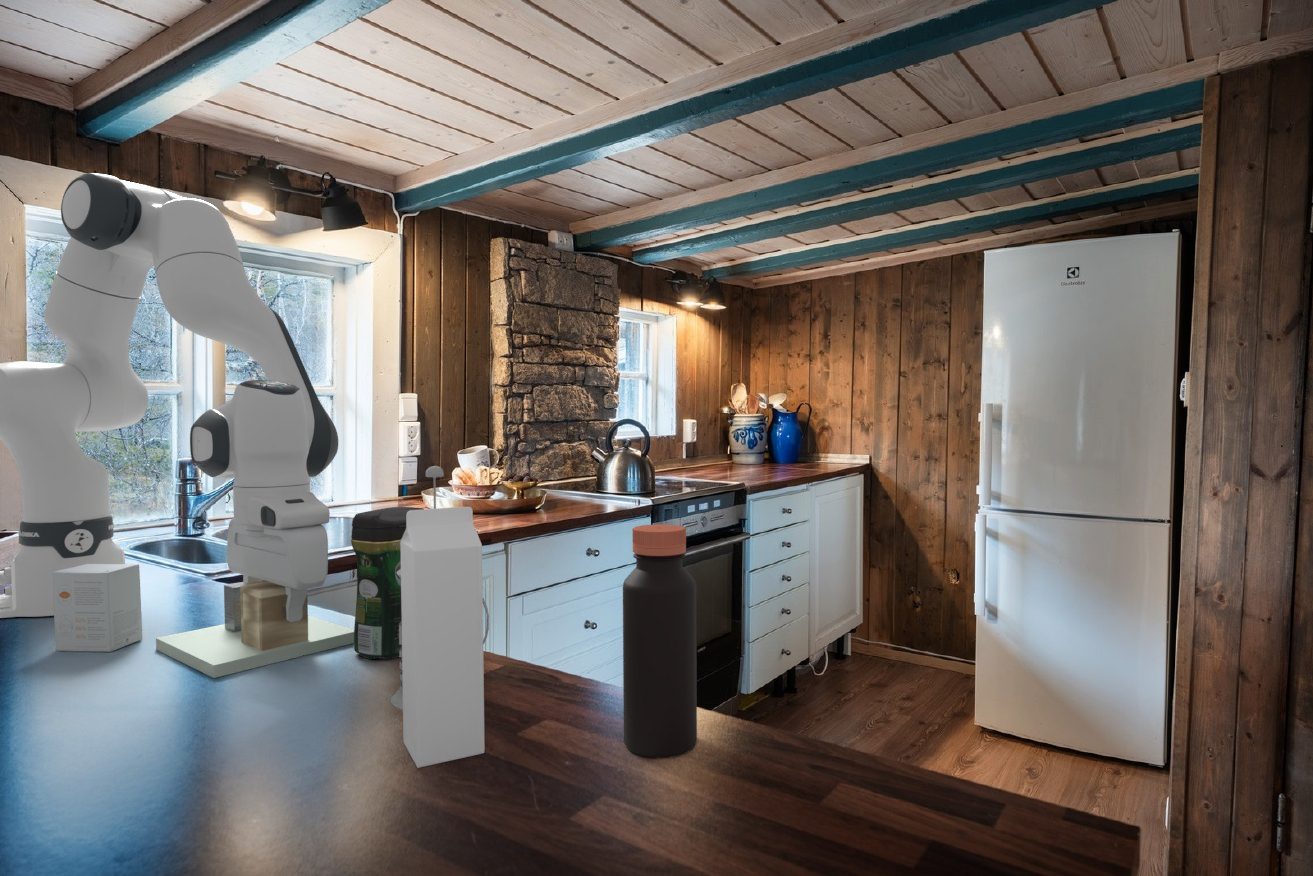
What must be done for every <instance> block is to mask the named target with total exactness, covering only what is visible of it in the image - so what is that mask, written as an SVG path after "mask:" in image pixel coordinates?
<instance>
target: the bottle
mask: <svg viewBox="0 0 1313 876" xmlns="http://www.w3.org/2000/svg"><path fill="white" fill-rule="evenodd" d="M686 551H687V528H686V527H685V526H683V525H682V526H681V525H677V524H675V525H674V524H661V523H656V524H655V523H654V524H644V525H643V524H642V525H637V526H635V527H633V528H632V552H633V553H634V554H633V558H634V559H636V560H635V562H636V565H635V566H636V567H635V568H633V570H632V571H631V572H630V573H629V574H628V575H627V576H626V578H625V579H624V581H623V584H622V643H623V644H622V654H623V655H622V663H623V664H622V666H623V669H622V671H623V673H622V674H623V675H622V677H623V681H622V683H623V684H622V685H623V687H622V688H623V694H622V695H623V696H622V697H623V742H624V744H625V745H624V746H626V749H628V750H629V751H631V752H632V753H634V754H635V755H639V756H641V757H647V758H654V759H657V758H658V759H663V758H665V759H667V758H668V759H669V758H674V757H675V758H676V757H678V756H682V755H684V754H686V753H688V752H690V751H692V749H694V747H695V746H696V744H697V743H698V742H697V741H698V733H697V732H698V718H697V717H698V714H697V710H698V709H697V706H698V705H697V704H698V703H697V702H698V699H697V698H698V697H697V696H698V695H697V691H698V690H697V688H698V686H697V685H698V683H697V681H698V679H697V678H698V677H697V666H698V665H697V663H698V662H697V661H698V660H697V659H698V658H697V657H698V656H697V584H696V580H695V578H693V577H692V575H691V574H690V573H689V572H688V571H687V570H686V569H685V568H684V567H683V559H685V558H686Z"/></svg>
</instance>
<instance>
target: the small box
mask: <svg viewBox="0 0 1313 876" xmlns="http://www.w3.org/2000/svg"><path fill="white" fill-rule="evenodd" d="M52 575H53V598H54V615H53V617H54V619H53V620H54V637H55V638H54V639H55V640H54V642H55V650H56V651H57V652H98V653H102V652H108V653H109V652H110V653H111V652H114V651H116V650H119V649H121V648H123V647H126V646H129V645H131V644H135V643H136V642H138V641H142V640H143V623H142V622H143V619H142V618H143V617H142V597H141V596H142V595H141V578H140V577H141V576H140V575H141V574H140V564H137V563H134V564H132V563H131V564H130V563H129V564H128V563H127V564H126V563H125V564H85V565H80V566H76V567H72V568H68V569H63V570H59V571H55V572H53V573H52Z"/></svg>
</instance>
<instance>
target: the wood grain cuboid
mask: <svg viewBox="0 0 1313 876" xmlns="http://www.w3.org/2000/svg"><path fill="white" fill-rule="evenodd" d="M240 595H241V641H242V643H244V644H247V645H249V646H252V647H254V648H257V649H259V650H261V651H264V650H268V649H273V648H277V647H281V646H285V645H289V644H294V643H298V642H302V641H306V640H308V615H309V612H308V611H309V609H308V608H309V604H308V602H309V601H308V594H307V596H306V599H305V601H304V604H303V606H302V615H303V617H302V619H301V620H299V621H294V622H289V621H286V620H284V619H283V607H284V606H286V603H287V598H288V595H286V591H285V586H281V585H278V584H274V583H271V582H267V581H262V582H260V583H254V584H248V585H242V586H240Z"/></svg>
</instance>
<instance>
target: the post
mask: <svg viewBox="0 0 1313 876" xmlns="http://www.w3.org/2000/svg"><path fill="white" fill-rule="evenodd" d="M242 585H244V583H243V581H241V582H234V583H228V584H223V598H224V599H223V605H224V608H223V611H224V624H225V629H227V630H230V631H232V632H239V631H241V595H240V586H242Z"/></svg>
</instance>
